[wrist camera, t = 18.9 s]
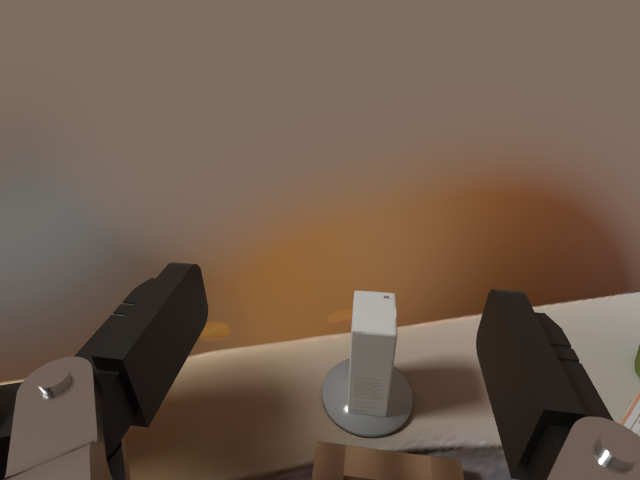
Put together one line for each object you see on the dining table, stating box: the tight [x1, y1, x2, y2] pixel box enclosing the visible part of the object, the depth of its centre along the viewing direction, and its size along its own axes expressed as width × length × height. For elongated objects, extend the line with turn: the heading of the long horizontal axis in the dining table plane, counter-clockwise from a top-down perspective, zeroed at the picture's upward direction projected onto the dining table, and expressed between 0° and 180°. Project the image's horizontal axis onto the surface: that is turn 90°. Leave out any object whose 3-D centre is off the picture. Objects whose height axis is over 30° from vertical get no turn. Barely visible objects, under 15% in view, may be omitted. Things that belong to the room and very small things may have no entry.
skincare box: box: [348, 291, 397, 417], centre depth 40 cm, size 6×4×12 cm
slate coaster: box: [322, 359, 413, 438], centre depth 43 cm, size 10×10×1 cm
